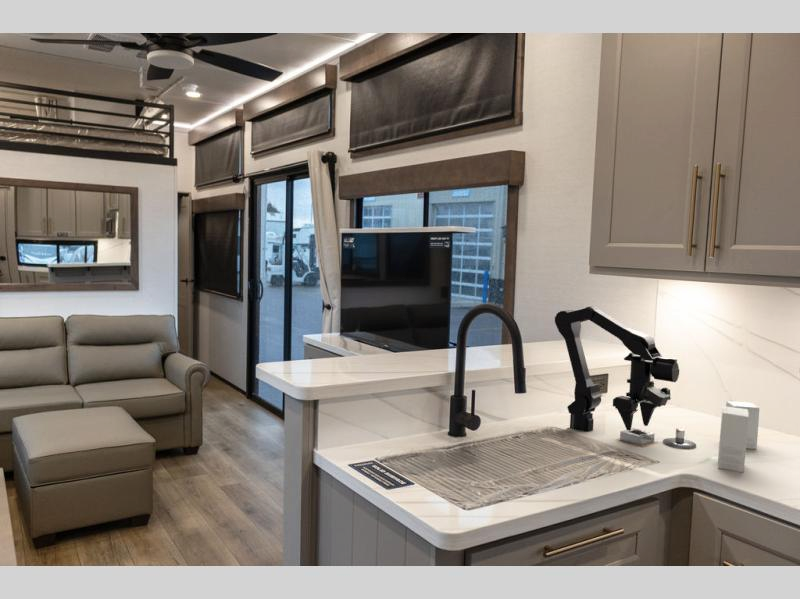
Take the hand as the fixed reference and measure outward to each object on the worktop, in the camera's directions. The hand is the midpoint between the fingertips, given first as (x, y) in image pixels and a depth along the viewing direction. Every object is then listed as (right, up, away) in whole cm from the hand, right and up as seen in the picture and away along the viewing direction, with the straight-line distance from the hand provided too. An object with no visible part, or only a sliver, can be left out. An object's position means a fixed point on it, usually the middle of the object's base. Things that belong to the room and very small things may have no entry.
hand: (637, 427), depth 190 cm
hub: (+12, -5, -2) cm, 13 cm away
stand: (0, -5, 0) cm, 5 cm away
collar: (0, -4, 0) cm, 4 cm away
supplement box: (+32, -6, +3) cm, 33 cm away
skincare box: (+19, -7, -18) cm, 27 cm away
